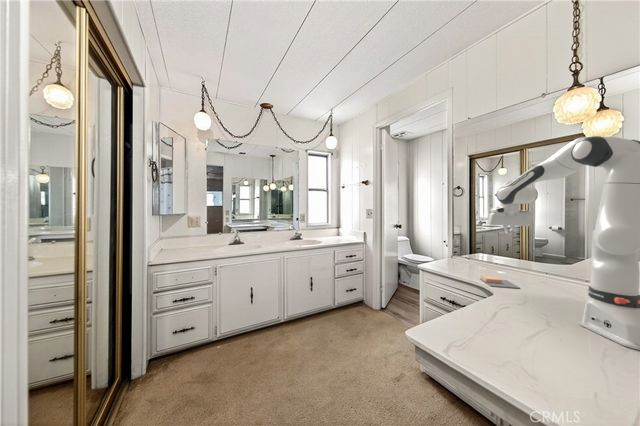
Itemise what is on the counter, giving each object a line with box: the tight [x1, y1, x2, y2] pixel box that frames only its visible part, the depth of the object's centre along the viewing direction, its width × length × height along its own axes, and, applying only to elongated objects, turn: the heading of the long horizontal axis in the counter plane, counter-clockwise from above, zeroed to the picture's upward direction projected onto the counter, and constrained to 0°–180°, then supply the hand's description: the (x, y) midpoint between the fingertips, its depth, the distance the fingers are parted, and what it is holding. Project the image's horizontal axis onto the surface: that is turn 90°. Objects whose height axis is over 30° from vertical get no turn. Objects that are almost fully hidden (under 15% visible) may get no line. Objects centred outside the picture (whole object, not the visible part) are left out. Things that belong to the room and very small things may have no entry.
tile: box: [481, 275, 503, 283], centre depth 140 cm, size 6×2×8 cm
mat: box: [479, 277, 521, 290], centre depth 137 cm, size 14×14×1 cm
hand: (508, 233), depth 137 cm, fingers closed
